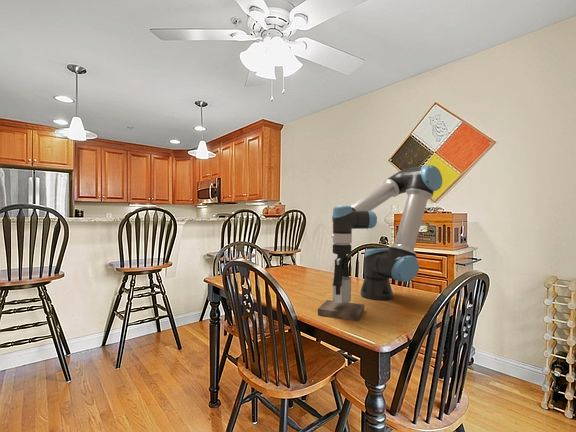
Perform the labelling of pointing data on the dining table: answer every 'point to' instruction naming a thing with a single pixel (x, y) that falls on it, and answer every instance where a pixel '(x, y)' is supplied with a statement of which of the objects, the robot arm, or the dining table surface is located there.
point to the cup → (344, 289)
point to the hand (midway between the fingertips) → (341, 298)
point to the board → (341, 310)
